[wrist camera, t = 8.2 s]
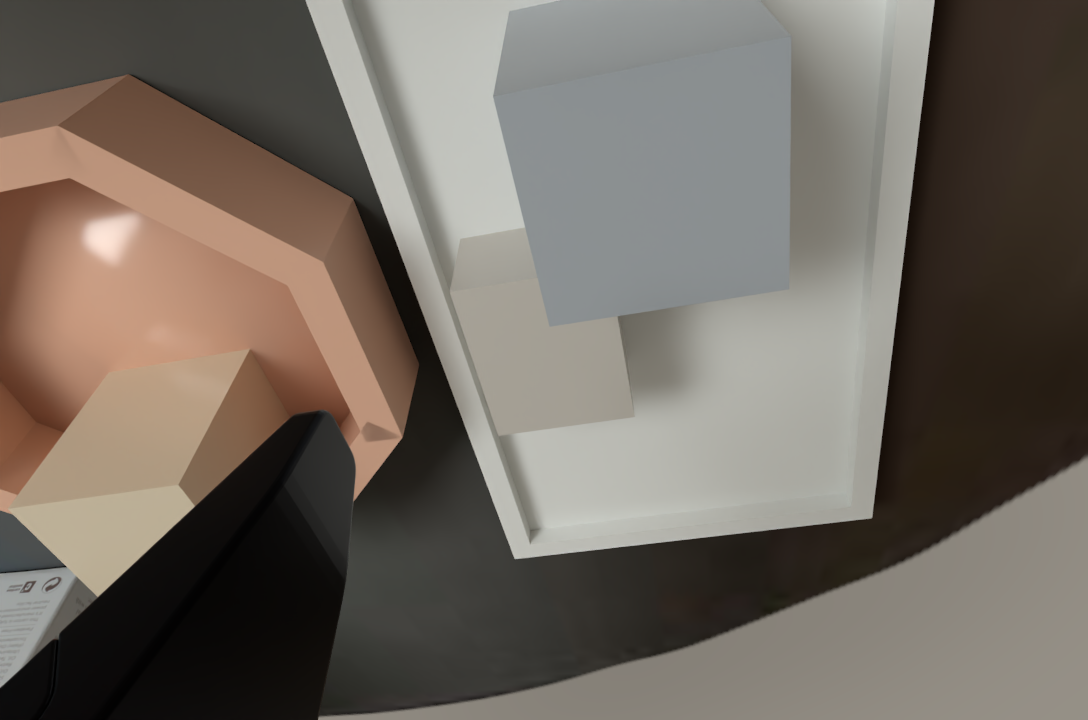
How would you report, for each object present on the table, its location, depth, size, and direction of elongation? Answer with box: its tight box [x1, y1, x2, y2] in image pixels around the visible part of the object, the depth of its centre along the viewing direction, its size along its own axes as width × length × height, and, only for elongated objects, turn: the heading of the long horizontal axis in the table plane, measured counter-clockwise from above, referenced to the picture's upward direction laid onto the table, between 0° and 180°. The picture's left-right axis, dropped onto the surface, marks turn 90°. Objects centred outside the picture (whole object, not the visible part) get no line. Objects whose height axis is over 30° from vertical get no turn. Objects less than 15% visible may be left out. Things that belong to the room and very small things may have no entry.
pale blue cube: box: [493, 0, 791, 327], centre depth 14 cm, size 4×4×5 cm
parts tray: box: [306, 0, 935, 559], centre depth 19 cm, size 12×20×1 cm, turn 12°
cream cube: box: [8, 349, 290, 597], centre depth 20 cm, size 4×4×5 cm
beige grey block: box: [450, 228, 635, 436], centre depth 19 cm, size 4×5×2 cm
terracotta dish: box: [0, 74, 419, 514], centre depth 19 cm, size 13×13×3 cm
